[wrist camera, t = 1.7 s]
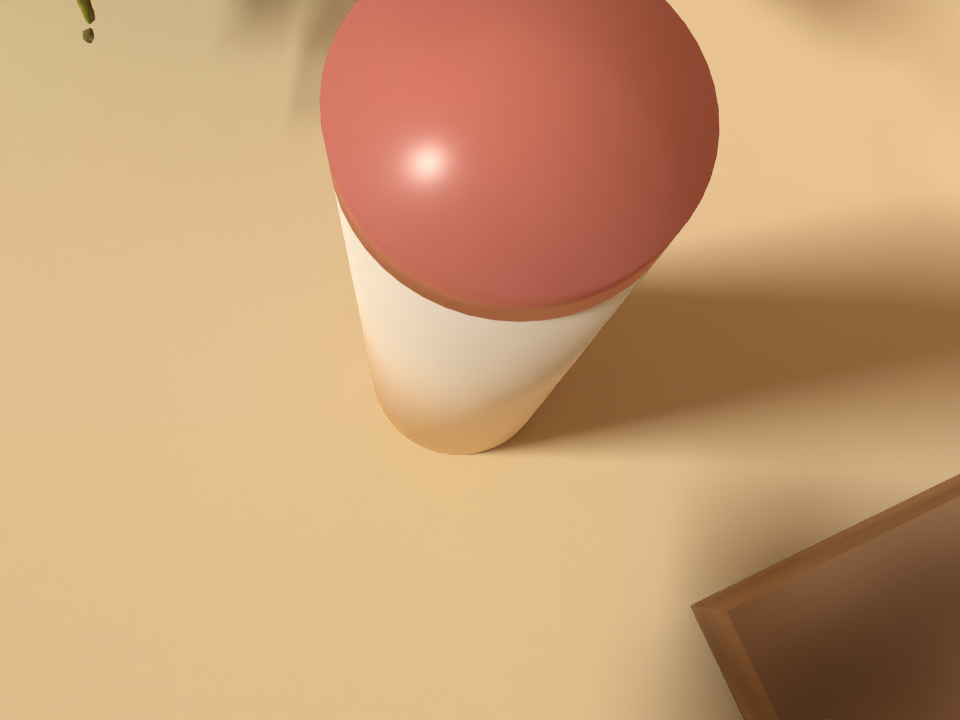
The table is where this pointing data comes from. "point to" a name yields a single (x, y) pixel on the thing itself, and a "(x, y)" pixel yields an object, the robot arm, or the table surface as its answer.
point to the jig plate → (850, 622)
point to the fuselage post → (505, 190)
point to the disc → (87, 18)
